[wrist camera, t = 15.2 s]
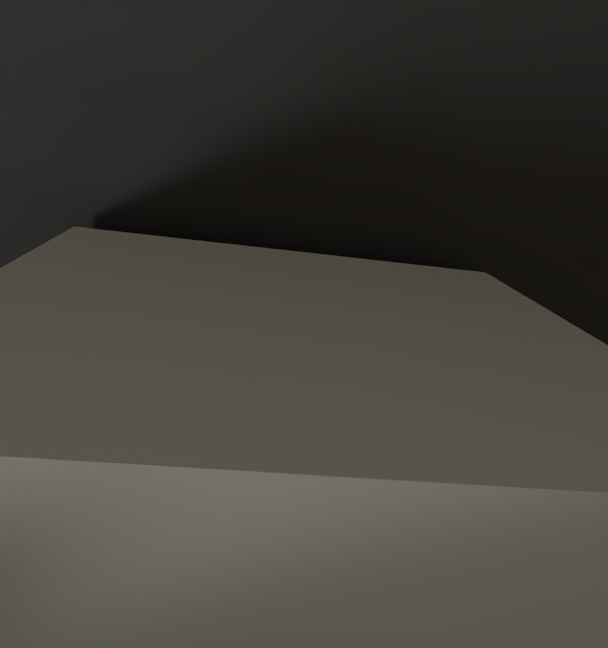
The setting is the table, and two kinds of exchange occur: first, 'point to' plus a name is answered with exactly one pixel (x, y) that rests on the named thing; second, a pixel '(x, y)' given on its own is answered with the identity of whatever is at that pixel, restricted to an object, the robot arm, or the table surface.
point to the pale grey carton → (293, 453)
